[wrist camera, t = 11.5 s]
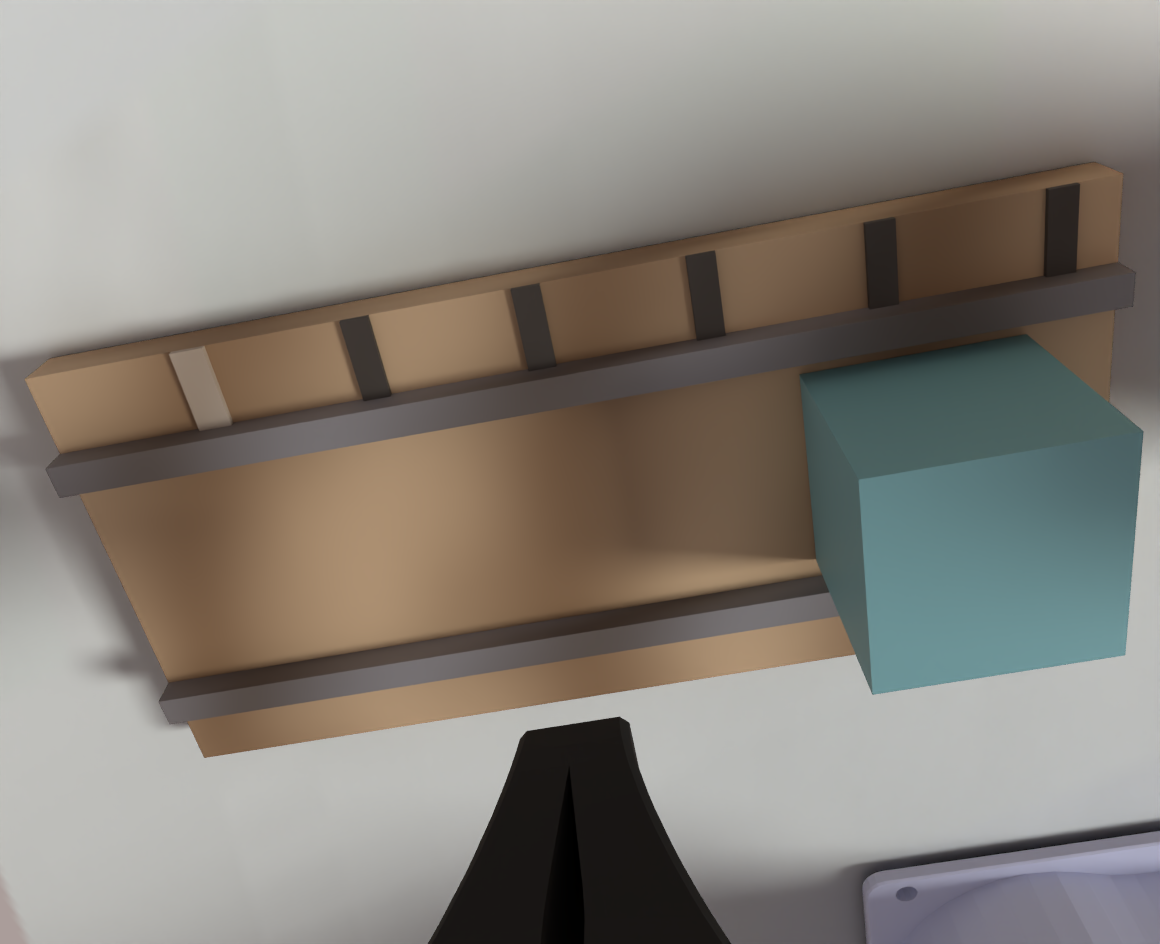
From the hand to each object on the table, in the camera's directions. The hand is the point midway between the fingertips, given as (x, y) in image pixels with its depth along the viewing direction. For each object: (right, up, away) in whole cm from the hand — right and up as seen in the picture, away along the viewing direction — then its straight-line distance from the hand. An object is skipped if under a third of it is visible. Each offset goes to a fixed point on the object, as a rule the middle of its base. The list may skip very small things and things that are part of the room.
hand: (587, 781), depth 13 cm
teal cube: (+6, +4, +6) cm, 9 cm away
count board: (0, +4, +7) cm, 8 cm away
